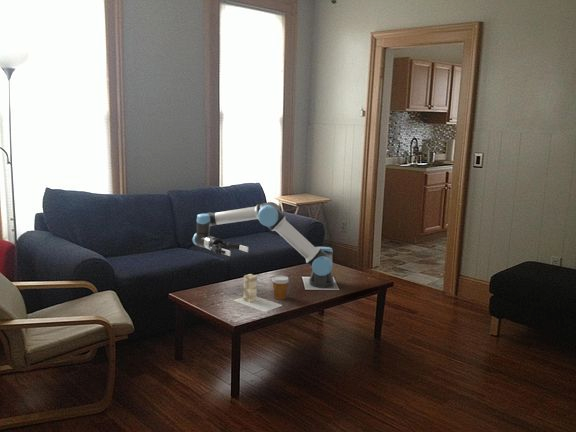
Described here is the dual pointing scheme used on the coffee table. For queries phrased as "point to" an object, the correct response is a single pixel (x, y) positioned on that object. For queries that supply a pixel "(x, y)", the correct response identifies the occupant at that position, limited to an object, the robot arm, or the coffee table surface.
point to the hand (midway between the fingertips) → (239, 251)
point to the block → (250, 288)
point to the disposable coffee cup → (280, 287)
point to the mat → (259, 304)
